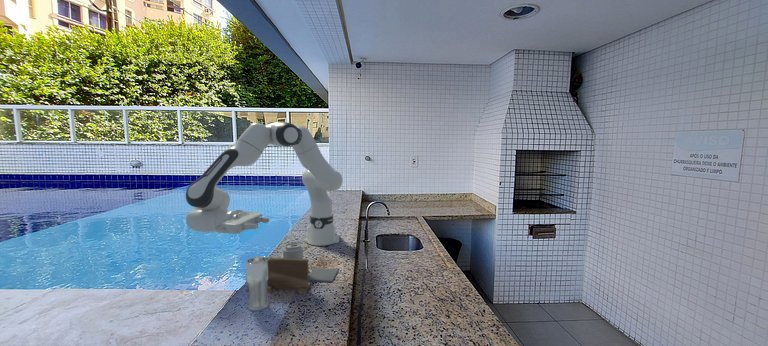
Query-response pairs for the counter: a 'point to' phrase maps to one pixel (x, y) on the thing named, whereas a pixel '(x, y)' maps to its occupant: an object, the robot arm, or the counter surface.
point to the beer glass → (257, 282)
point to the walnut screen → (288, 275)
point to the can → (293, 251)
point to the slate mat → (322, 275)
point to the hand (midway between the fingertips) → (262, 223)
